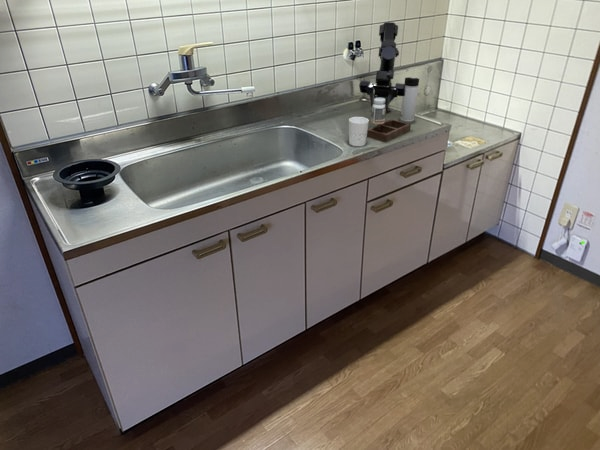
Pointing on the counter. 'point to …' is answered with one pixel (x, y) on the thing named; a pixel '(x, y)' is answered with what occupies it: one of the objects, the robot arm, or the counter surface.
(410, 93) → the travel mug
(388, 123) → the divided brown tray
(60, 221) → the counter surface
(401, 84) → the robot arm
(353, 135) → the white cup
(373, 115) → the pill bottle
